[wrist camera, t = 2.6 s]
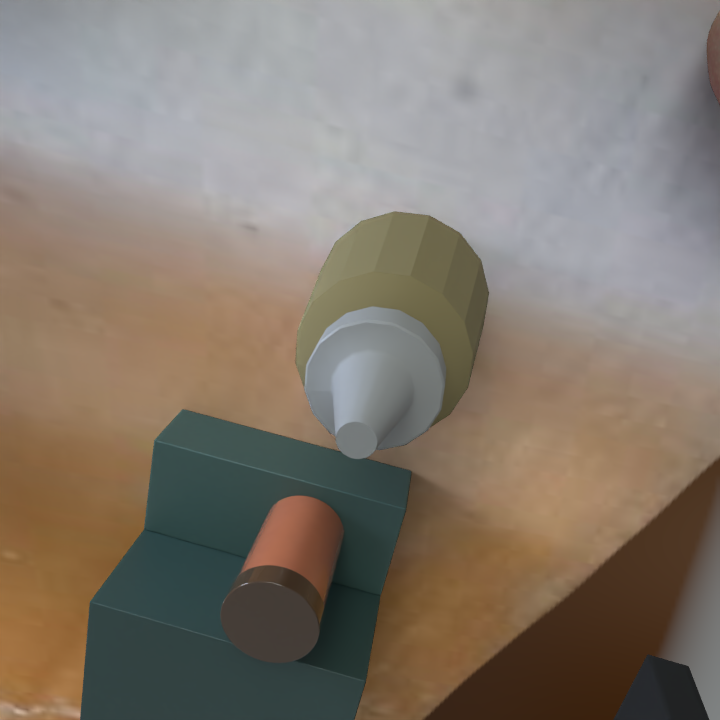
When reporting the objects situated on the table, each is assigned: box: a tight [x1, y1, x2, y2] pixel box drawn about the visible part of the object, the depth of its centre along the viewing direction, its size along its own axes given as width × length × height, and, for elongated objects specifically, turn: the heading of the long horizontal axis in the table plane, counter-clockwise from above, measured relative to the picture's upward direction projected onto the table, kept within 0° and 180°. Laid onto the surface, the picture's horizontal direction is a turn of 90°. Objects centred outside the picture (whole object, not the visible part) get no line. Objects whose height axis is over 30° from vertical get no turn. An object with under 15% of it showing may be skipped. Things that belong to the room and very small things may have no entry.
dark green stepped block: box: [80, 409, 412, 720], centre depth 38 cm, size 20×14×12 cm
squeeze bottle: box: [296, 212, 489, 459], centre depth 27 cm, size 8×8×18 cm
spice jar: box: [220, 495, 344, 663], centre depth 34 cm, size 5×5×7 cm
